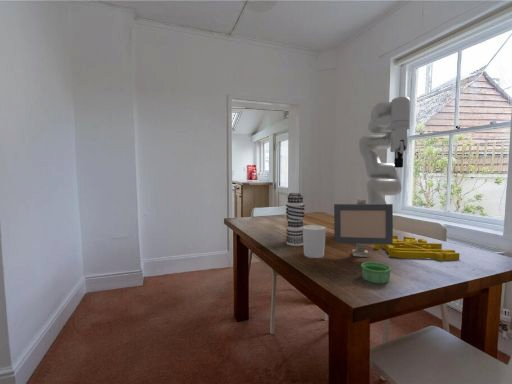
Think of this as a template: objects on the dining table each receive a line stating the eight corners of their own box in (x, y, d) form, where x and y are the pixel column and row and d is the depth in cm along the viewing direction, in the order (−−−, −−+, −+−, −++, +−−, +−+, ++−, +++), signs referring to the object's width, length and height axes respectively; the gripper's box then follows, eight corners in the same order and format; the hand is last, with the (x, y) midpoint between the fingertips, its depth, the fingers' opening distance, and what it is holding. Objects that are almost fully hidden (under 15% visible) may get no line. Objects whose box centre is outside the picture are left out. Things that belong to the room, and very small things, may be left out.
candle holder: (300, 257, 110) (300, 228, 110) (304, 251, 120) (304, 224, 119) (324, 259, 107) (324, 230, 106) (326, 253, 116) (327, 225, 115)
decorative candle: (303, 246, 127) (303, 194, 125) (283, 245, 130) (283, 193, 128) (305, 242, 135) (306, 192, 133) (287, 240, 138) (287, 192, 136)
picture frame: (334, 241, 113) (334, 204, 112) (391, 243, 107) (391, 204, 106) (334, 242, 111) (334, 204, 110) (392, 244, 106) (392, 204, 105)
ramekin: (391, 286, 82) (392, 272, 81) (360, 282, 85) (360, 268, 85) (390, 276, 90) (390, 263, 90) (361, 272, 93) (361, 260, 93)
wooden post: (352, 253, 116) (353, 199, 114) (367, 254, 114) (368, 199, 113) (353, 256, 112) (354, 200, 110) (368, 257, 110) (370, 200, 108)
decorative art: (365, 233, 142) (428, 236, 136) (365, 239, 142) (428, 241, 136) (382, 252, 109) (465, 256, 103) (382, 258, 109) (465, 263, 103)
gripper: (387, 129, 127) (386, 167, 129) (394, 123, 113) (393, 167, 114) (404, 128, 125) (403, 167, 127) (414, 122, 111) (412, 167, 112)
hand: (398, 167), depth 121 cm, fingers closed
